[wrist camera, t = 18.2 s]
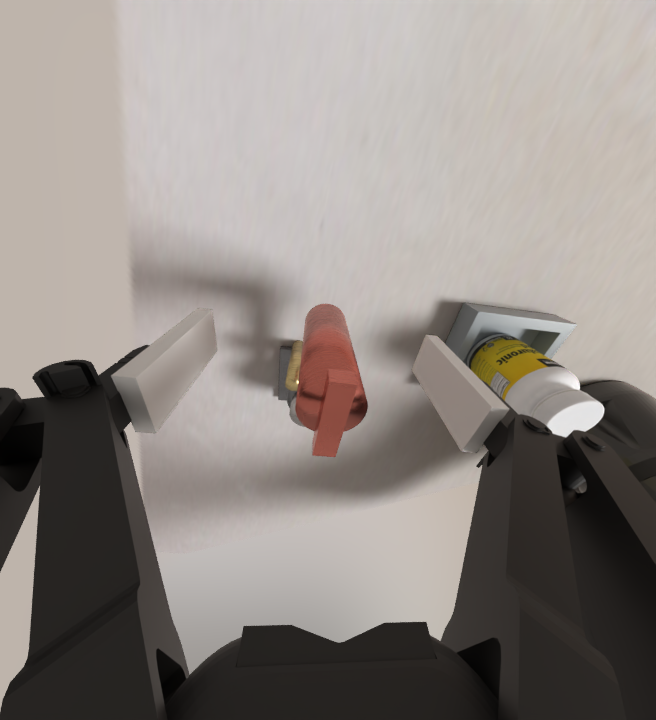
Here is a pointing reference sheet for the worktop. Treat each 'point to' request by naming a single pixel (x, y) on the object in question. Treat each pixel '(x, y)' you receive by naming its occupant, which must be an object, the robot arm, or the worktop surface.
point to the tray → (507, 329)
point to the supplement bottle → (534, 384)
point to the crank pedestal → (289, 371)
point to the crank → (328, 381)
